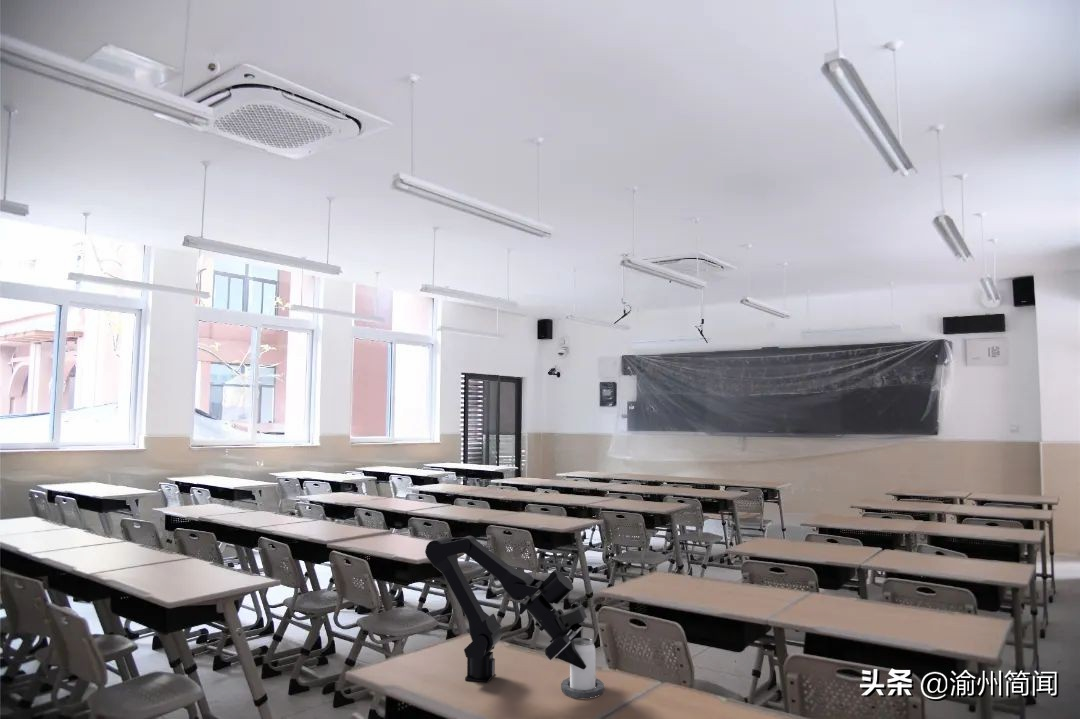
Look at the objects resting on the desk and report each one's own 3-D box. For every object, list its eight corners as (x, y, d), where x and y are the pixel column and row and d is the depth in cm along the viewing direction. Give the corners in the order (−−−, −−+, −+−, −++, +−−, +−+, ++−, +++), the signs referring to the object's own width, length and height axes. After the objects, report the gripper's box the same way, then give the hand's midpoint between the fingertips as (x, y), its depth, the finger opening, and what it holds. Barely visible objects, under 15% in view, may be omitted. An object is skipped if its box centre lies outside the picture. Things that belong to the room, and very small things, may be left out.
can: (593, 696, 172) (593, 646, 173) (568, 693, 173) (568, 644, 174) (596, 686, 178) (596, 638, 179) (572, 684, 179) (572, 636, 180)
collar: (558, 696, 171) (558, 690, 172) (566, 680, 182) (566, 674, 182) (600, 700, 169) (600, 694, 169) (605, 684, 179) (605, 678, 179)
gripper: (557, 604, 169) (601, 655, 165) (576, 586, 187) (617, 631, 183) (527, 634, 171) (570, 685, 167) (548, 613, 189) (588, 659, 185)
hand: (588, 663), depth 175 cm, fingers closed on can, 6 cm apart
